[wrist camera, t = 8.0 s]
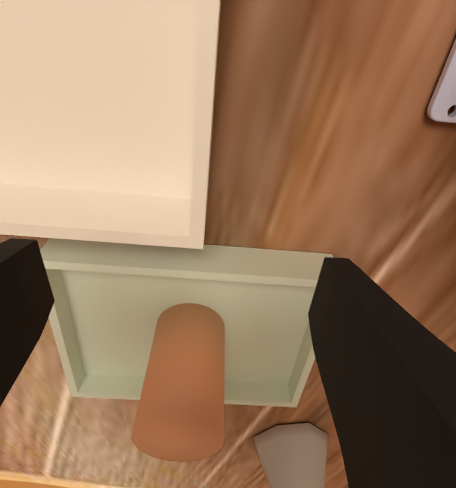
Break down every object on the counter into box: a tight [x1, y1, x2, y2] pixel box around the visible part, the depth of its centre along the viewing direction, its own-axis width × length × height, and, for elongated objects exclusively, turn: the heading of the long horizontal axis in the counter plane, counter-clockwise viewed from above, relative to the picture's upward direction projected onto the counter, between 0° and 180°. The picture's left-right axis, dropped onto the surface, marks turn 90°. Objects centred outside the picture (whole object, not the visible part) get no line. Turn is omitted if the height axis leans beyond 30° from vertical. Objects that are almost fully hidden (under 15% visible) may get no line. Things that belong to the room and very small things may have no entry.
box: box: [0, 0, 221, 249], centre depth 12 cm, size 13×13×4 cm
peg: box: [132, 303, 225, 461], centre depth 19 cm, size 4×4×7 cm
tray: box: [40, 238, 333, 407], centre depth 22 cm, size 16×12×2 cm
